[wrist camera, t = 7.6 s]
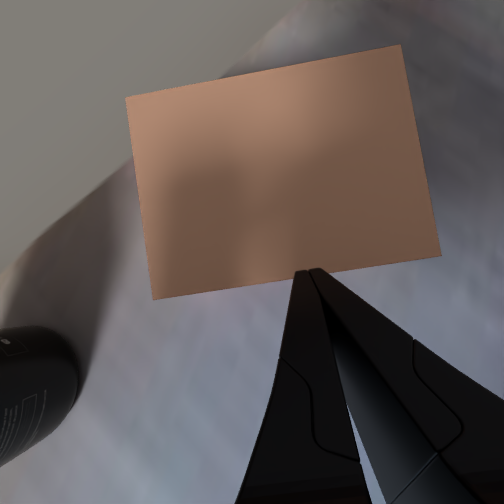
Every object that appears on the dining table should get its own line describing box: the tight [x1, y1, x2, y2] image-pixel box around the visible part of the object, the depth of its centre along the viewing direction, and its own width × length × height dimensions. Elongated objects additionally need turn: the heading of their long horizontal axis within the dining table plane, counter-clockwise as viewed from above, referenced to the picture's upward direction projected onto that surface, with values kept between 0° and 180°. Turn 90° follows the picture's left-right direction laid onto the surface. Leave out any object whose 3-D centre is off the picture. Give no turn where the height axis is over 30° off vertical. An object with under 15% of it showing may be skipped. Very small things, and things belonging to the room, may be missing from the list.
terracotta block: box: [125, 44, 442, 300], centre depth 13 cm, size 5×12×9 cm
